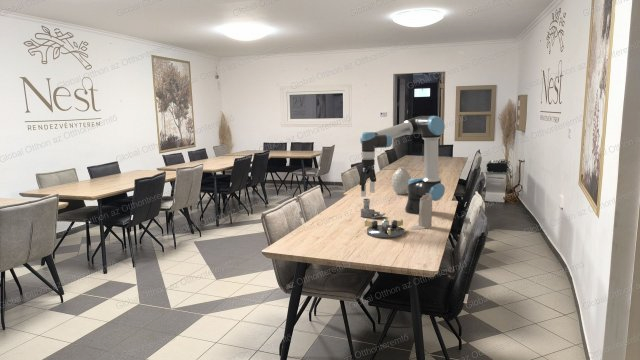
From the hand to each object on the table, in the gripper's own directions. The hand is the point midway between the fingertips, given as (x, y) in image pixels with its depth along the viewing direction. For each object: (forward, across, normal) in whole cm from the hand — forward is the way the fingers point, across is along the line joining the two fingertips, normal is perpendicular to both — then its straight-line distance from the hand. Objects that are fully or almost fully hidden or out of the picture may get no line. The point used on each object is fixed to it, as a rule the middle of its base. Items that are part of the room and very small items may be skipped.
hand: (367, 194), depth 248 cm
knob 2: (+18, +15, +18) cm, 29 cm away
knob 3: (+18, 0, +18) cm, 25 cm away
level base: (+20, +7, +14) cm, 25 cm away
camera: (+20, -23, -6) cm, 31 cm away
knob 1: (+18, +7, +5) cm, 20 cm away
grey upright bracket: (+20, -13, +28) cm, 37 cm away
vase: (+19, -104, -13) cm, 107 cm away
